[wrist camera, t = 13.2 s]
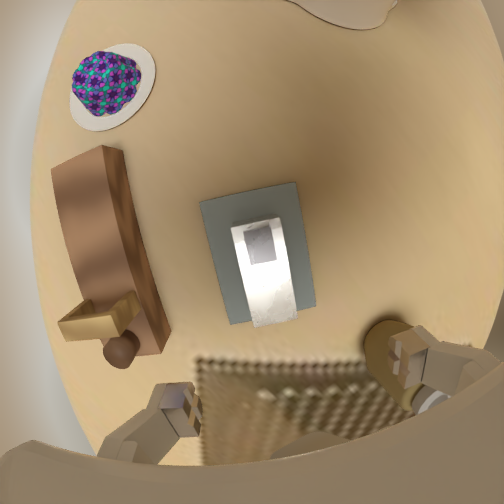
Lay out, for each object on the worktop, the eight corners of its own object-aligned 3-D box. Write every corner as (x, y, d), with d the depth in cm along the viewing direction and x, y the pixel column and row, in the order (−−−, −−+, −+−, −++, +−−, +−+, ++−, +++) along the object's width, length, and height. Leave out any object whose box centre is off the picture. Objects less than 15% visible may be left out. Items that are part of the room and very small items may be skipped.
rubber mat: (200, 202, 28) (199, 202, 27) (293, 182, 28) (295, 182, 27) (230, 321, 31) (230, 324, 30) (314, 303, 31) (316, 306, 30)
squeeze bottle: (403, 352, 34) (469, 430, 16) (355, 368, 34) (409, 464, 16) (408, 304, 32) (494, 377, 14) (355, 320, 32) (430, 417, 14)
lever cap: (232, 222, 28) (230, 229, 23) (274, 213, 28) (281, 218, 23) (252, 310, 30) (254, 331, 25) (291, 302, 30) (299, 321, 25)
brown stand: (74, 170, 26) (15, 168, 16) (122, 150, 26) (68, 136, 16) (124, 337, 31) (89, 387, 21) (171, 331, 31) (146, 387, 21)
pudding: (59, 122, 25) (35, 115, 20) (99, 42, 23) (81, 26, 17) (130, 142, 26) (109, 135, 21) (174, 53, 24) (163, 32, 19)
